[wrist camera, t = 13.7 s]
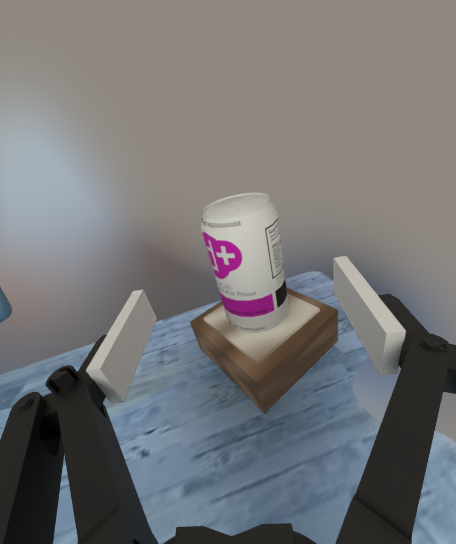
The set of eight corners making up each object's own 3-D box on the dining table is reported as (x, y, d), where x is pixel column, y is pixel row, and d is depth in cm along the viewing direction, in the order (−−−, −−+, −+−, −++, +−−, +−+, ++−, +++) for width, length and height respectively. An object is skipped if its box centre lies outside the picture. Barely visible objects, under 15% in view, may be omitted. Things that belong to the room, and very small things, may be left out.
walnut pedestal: (200, 348, 39) (188, 319, 36) (264, 301, 45) (259, 273, 42) (264, 413, 28) (256, 379, 25) (337, 340, 34) (337, 306, 31)
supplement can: (252, 347, 29) (223, 224, 21) (216, 314, 35) (184, 211, 28) (303, 312, 32) (293, 194, 24) (261, 288, 38) (243, 188, 31)
